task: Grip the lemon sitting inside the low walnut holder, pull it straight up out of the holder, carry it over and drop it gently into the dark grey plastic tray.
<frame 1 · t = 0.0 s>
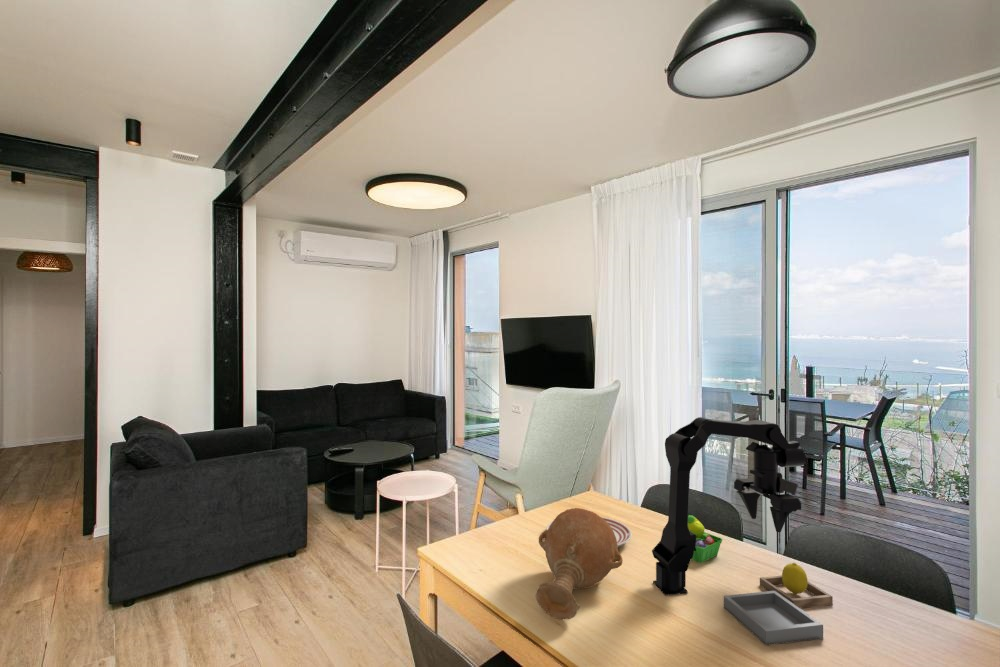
hand: (765, 525, 126), 15 cm above the table, fingers open, 9 cm apart
lemon: (794, 595, 118), resting in lemon holder
lemon holder: (794, 594, 118), on the table
tray: (770, 622, 106), on the table
fruit basket: (699, 556, 140), on the table
jug: (570, 592, 119), on the table
dinner plate: (588, 539, 152), on the table
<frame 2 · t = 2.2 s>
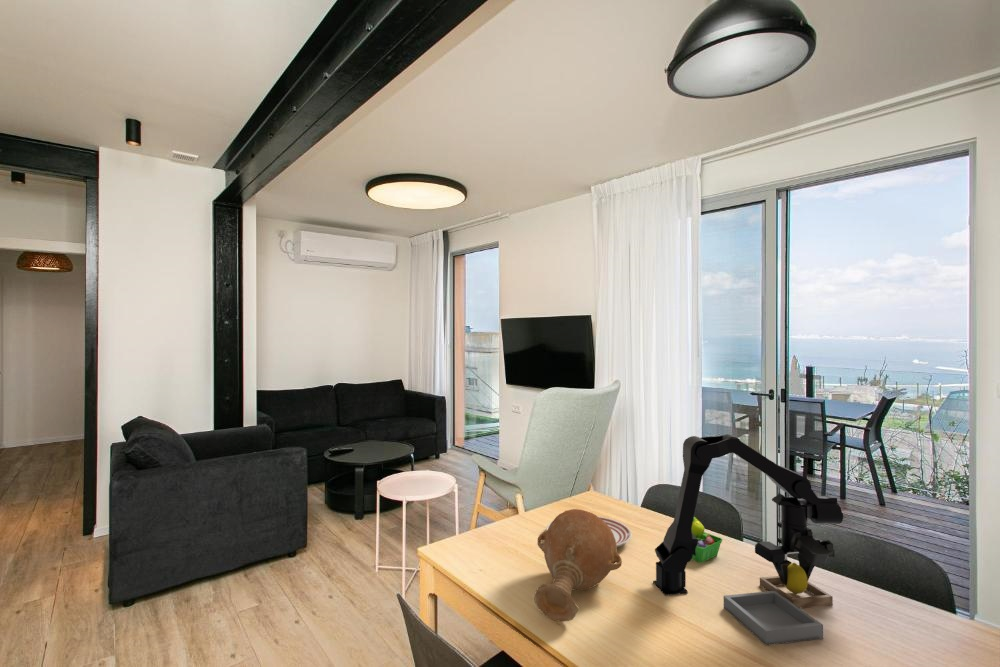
hand: (794, 583, 118), 3 cm above the table, fingers closed on lemon, 6 cm apart
lemon: (794, 595, 118), resting in lemon holder, touching gripper
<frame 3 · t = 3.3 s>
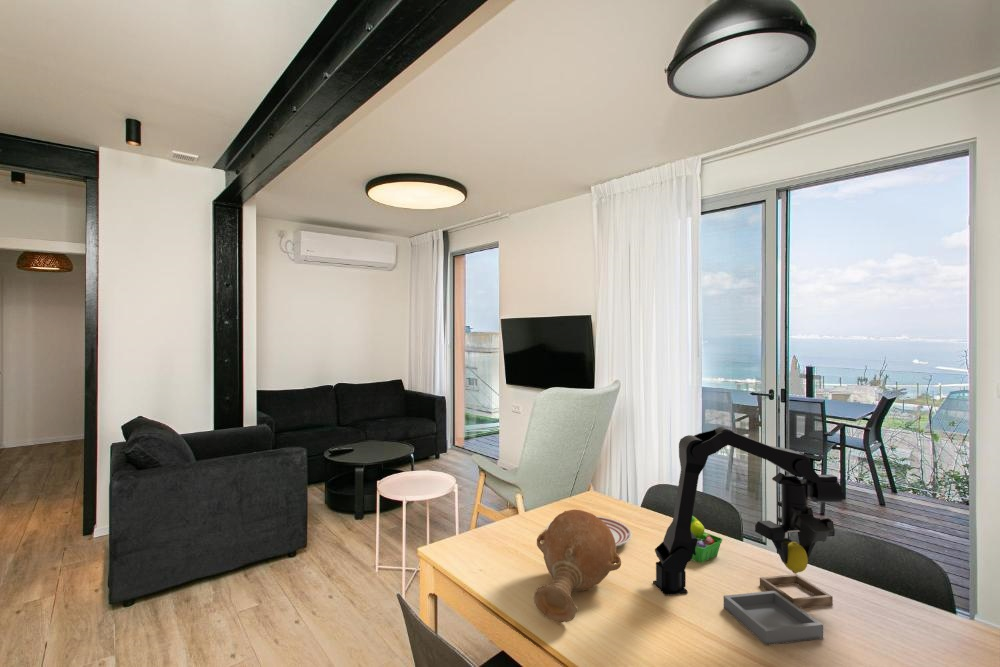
hand: (794, 562, 118), 8 cm above the table, fingers closed on lemon, 6 cm apart
lemon: (794, 574, 118), point 5 cm above the table, touching gripper
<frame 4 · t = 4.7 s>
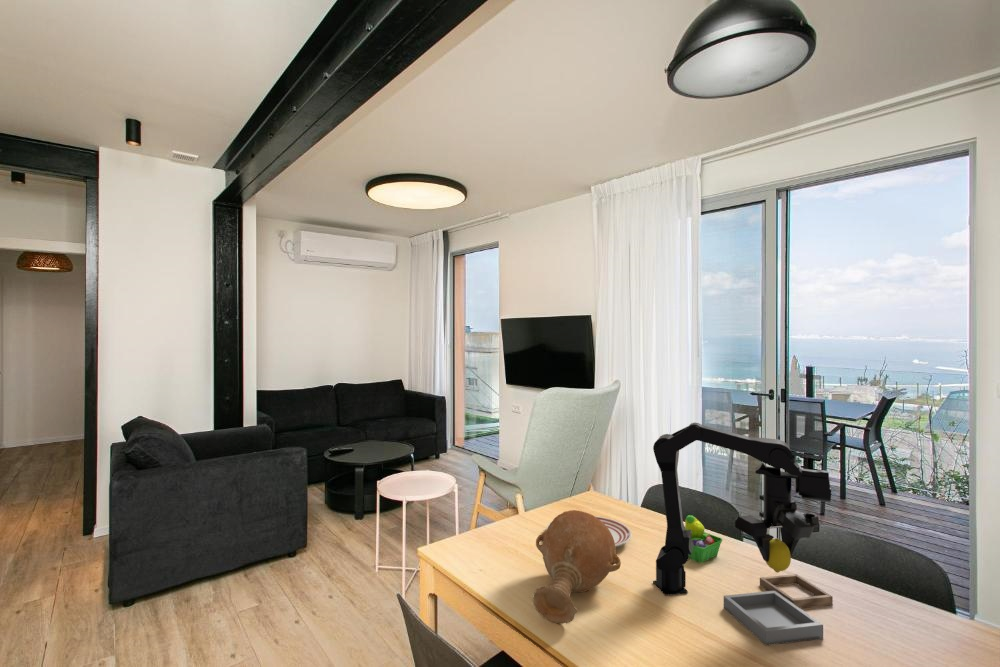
hand: (776, 560, 110), 13 cm above the table, fingers closed on lemon, 6 cm apart
lemon: (776, 573, 110), point 10 cm above the table, touching gripper
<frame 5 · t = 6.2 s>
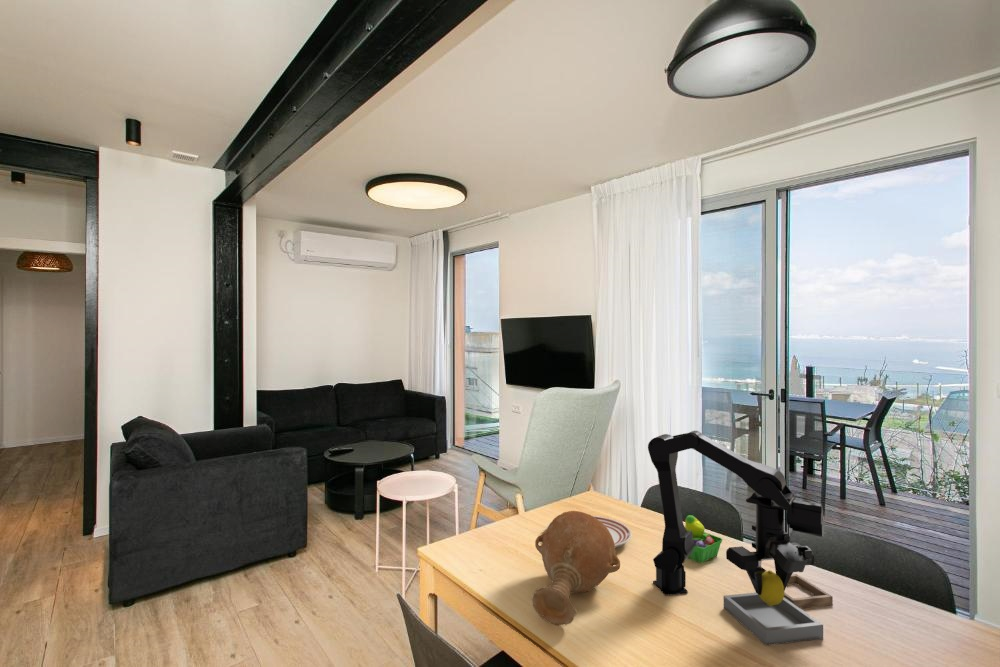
hand: (769, 593, 106), 7 cm above the table, fingers closed on lemon, 6 cm apart
lemon: (770, 606, 106), point 4 cm above the table, touching gripper
when the fingers open (6 cm above the table, at t = 7.2 s): lemon drops 2 cm, resting on tray.
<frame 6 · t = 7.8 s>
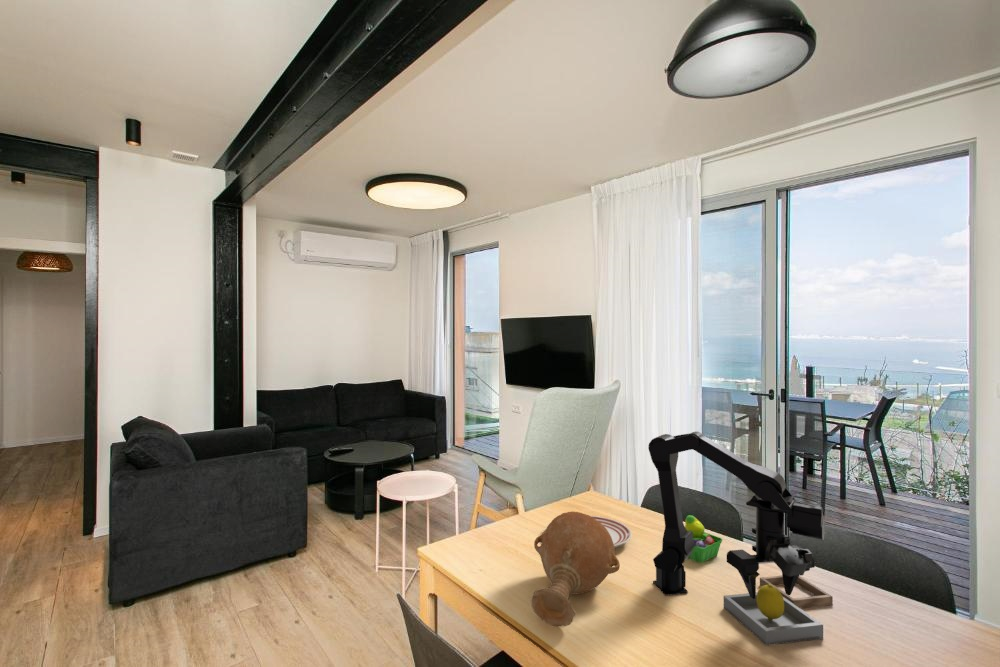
hand: (770, 596, 106), 6 cm above the table, fingers open, 9 cm apart
lemon: (770, 620, 106), resting on tray
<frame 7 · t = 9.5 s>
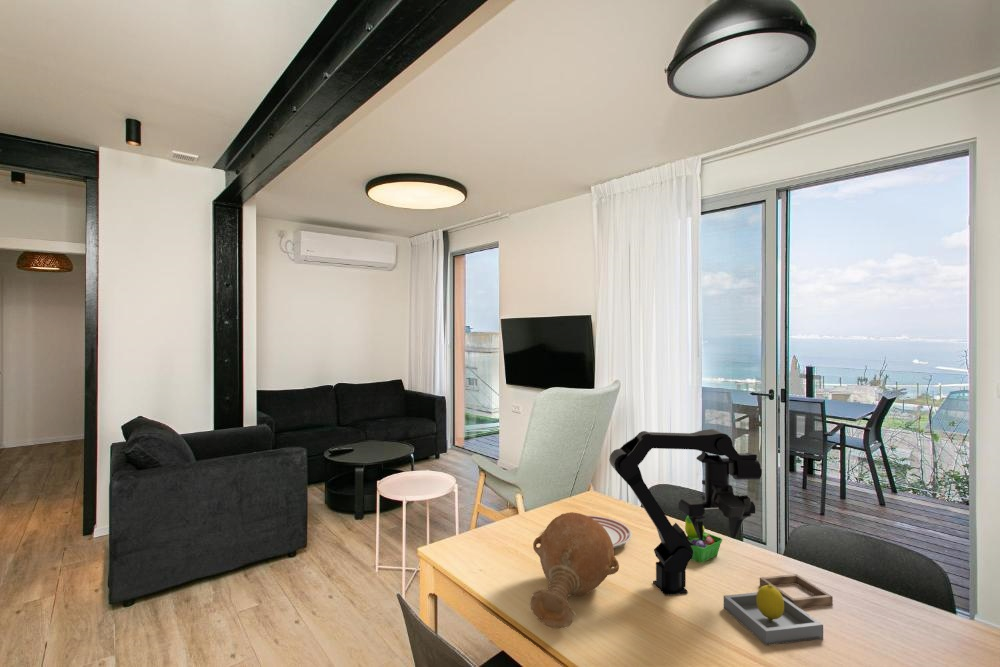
hand: (716, 539, 121), 13 cm above the table, fingers open, 9 cm apart
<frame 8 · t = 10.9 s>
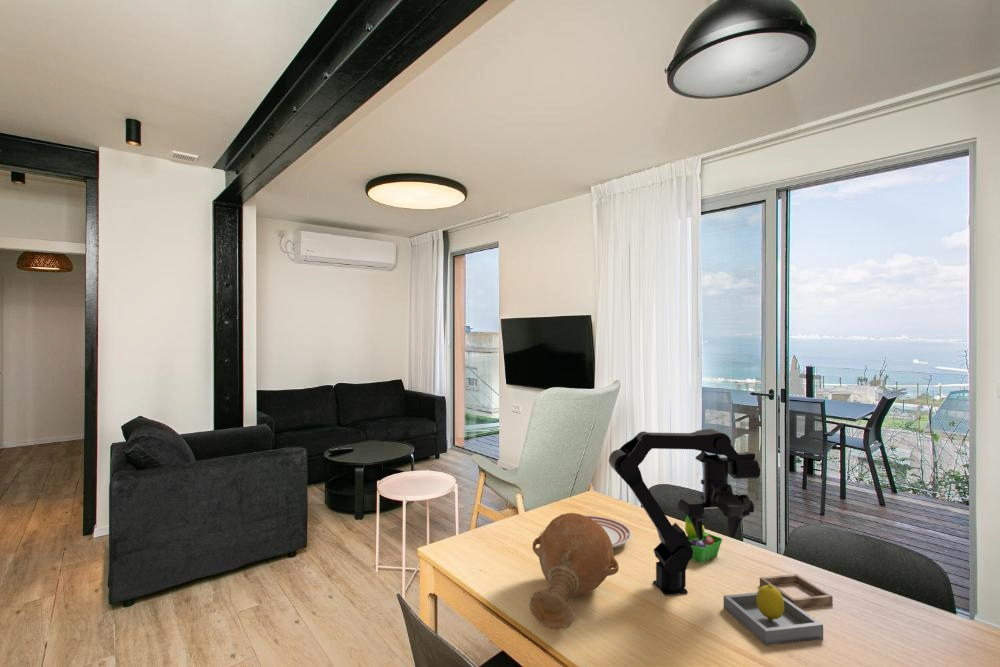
hand: (716, 538, 121), 13 cm above the table, fingers open, 9 cm apart
at the end: lemon inside the target area on the tray (0.2 cm from its centre), point 0.4 cm above the tray's base; the gripper is holding nothing; lemon moved 17.9 cm from its start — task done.
